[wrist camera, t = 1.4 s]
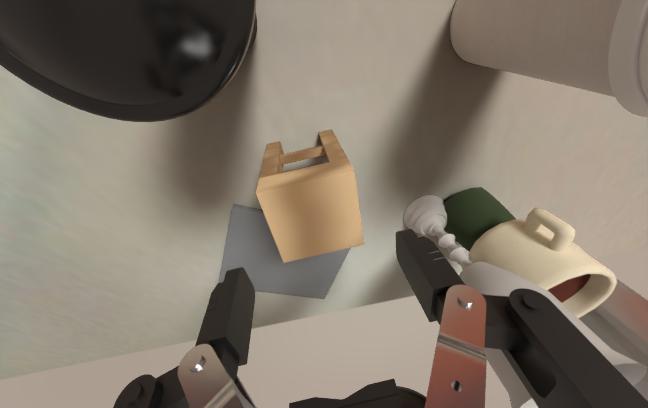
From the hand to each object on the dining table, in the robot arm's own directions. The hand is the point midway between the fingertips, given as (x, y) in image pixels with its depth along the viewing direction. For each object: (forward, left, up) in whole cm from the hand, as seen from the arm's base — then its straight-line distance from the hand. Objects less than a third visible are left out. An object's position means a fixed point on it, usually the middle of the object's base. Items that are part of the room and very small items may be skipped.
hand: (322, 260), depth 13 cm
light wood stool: (0, 0, -13) cm, 13 cm away
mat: (-1, +12, -13) cm, 18 cm away
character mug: (-19, 0, -13) cm, 23 cm away
